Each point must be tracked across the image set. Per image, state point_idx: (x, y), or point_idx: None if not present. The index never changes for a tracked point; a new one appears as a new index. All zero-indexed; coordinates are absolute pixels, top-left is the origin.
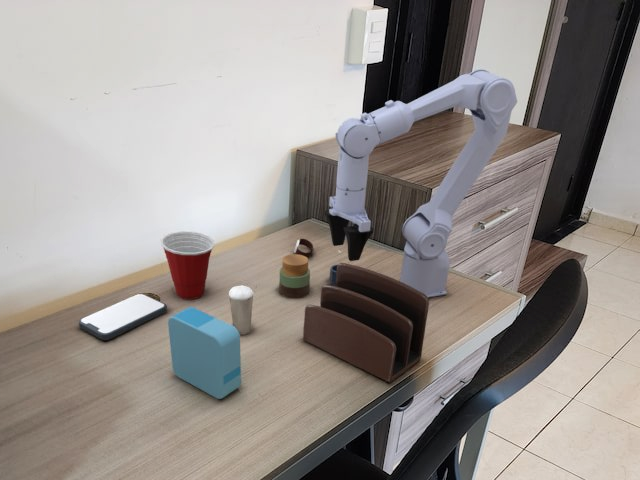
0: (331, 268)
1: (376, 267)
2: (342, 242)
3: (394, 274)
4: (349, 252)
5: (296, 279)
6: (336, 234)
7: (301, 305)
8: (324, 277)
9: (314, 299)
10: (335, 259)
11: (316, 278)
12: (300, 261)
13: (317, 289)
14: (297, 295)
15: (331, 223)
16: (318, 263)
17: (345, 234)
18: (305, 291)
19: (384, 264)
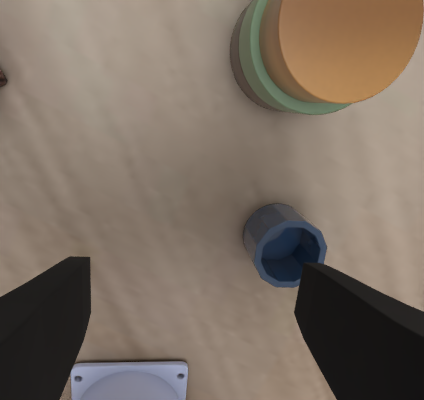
0: (306, 226)
1: (301, 369)
2: (300, 318)
3: (241, 394)
4: (37, 277)
5: (252, 8)
6: (339, 316)
7: (174, 21)
8: (322, 204)
9: (197, 94)
10: (406, 289)
11: (329, 176)
12: (317, 40)
13: (259, 141)
14: (234, 34)
15: (420, 342)
16: (413, 230)
17: (320, 369)
18: (237, 72)
19: (306, 395)
